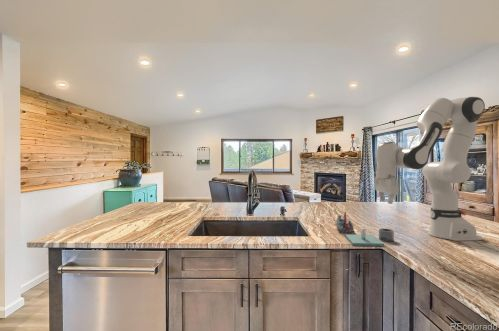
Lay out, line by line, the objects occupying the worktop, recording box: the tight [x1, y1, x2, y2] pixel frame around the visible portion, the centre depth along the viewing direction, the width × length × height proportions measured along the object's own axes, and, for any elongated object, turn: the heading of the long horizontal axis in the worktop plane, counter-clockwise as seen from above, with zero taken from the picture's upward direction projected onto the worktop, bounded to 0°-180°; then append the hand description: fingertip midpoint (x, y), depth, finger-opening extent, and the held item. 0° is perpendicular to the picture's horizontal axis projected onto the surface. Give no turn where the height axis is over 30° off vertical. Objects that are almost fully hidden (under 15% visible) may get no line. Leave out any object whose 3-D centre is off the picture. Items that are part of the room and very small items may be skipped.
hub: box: [378, 228, 395, 243], centre depth 130 cm, size 6×6×5 cm
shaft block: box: [344, 227, 385, 247], centre depth 128 cm, size 14×14×6 cm
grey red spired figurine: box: [334, 211, 355, 233], centre depth 148 cm, size 11×11×12 cm
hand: (386, 202), depth 129 cm, fingers open, 8 cm apart
